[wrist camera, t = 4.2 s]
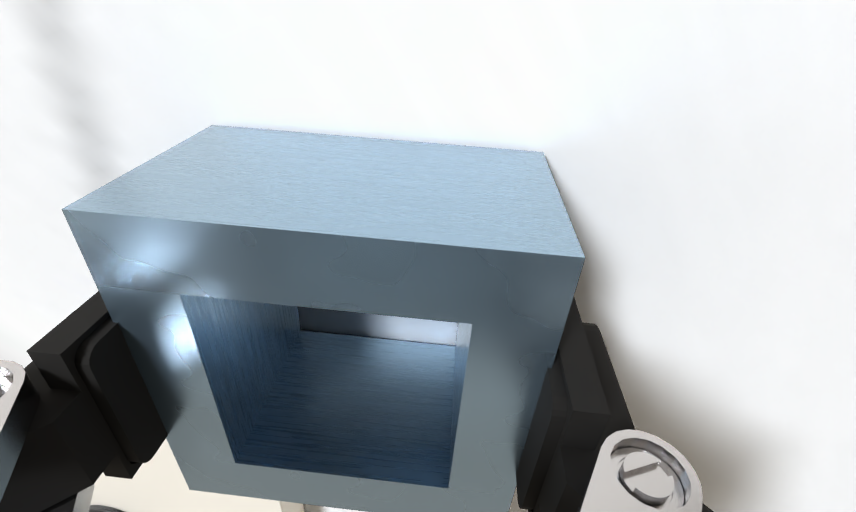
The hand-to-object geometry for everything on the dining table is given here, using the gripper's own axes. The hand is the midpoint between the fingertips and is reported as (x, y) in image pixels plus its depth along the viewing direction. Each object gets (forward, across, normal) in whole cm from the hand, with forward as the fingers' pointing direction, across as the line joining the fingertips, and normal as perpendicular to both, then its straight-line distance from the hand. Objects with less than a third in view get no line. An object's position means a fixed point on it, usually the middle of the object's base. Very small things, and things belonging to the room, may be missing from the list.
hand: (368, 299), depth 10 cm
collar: (+1, 0, 0) cm, 1 cm away
